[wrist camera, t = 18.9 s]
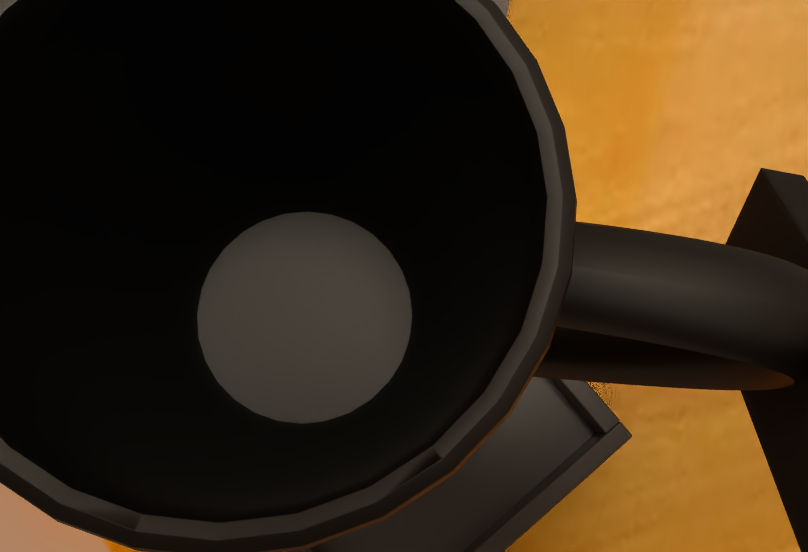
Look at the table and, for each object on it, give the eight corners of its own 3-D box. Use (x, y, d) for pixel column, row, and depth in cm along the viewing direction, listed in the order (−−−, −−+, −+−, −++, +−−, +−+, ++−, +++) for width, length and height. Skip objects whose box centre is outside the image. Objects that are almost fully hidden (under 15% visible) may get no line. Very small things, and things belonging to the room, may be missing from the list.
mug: (598, 567, 17) (862, 724, 8) (87, 448, 17) (-246, 465, 8) (653, 228, 19) (923, 30, 10) (187, 121, 19) (9, -177, 10)
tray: (616, 434, 33) (633, 436, 31) (376, 648, 31) (375, 667, 29) (376, 153, 35) (375, 135, 33) (137, 340, 33) (119, 334, 31)
